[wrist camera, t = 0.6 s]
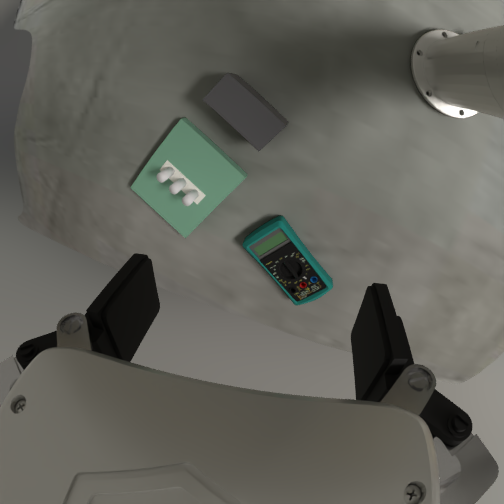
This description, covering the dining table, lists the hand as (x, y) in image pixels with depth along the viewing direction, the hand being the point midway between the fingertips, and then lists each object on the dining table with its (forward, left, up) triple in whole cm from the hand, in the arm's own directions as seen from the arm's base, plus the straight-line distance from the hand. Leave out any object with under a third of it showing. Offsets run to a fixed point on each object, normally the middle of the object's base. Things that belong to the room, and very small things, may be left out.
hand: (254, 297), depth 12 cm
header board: (+14, -8, -29) cm, 33 cm away
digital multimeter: (+12, +12, -30) cm, 34 cm away
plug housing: (0, -8, -29) cm, 30 cm away
